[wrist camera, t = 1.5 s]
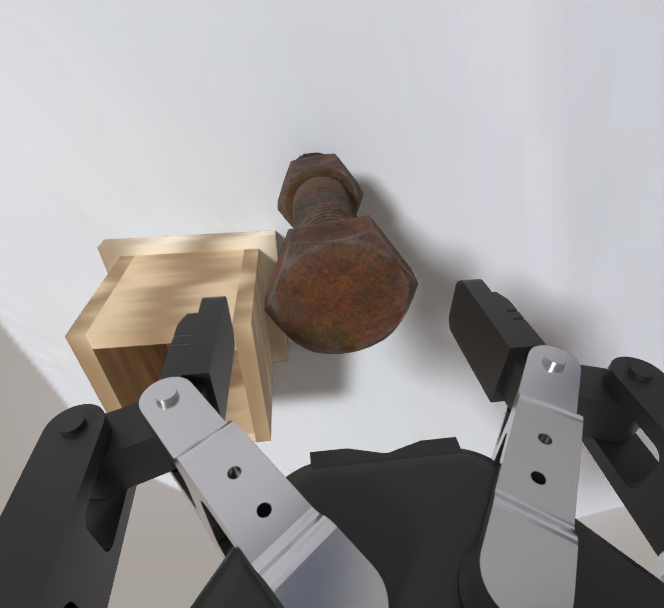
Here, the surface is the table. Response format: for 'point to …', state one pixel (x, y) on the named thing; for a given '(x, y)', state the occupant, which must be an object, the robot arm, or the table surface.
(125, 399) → the socket block
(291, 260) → the bolt
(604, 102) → the table surface
